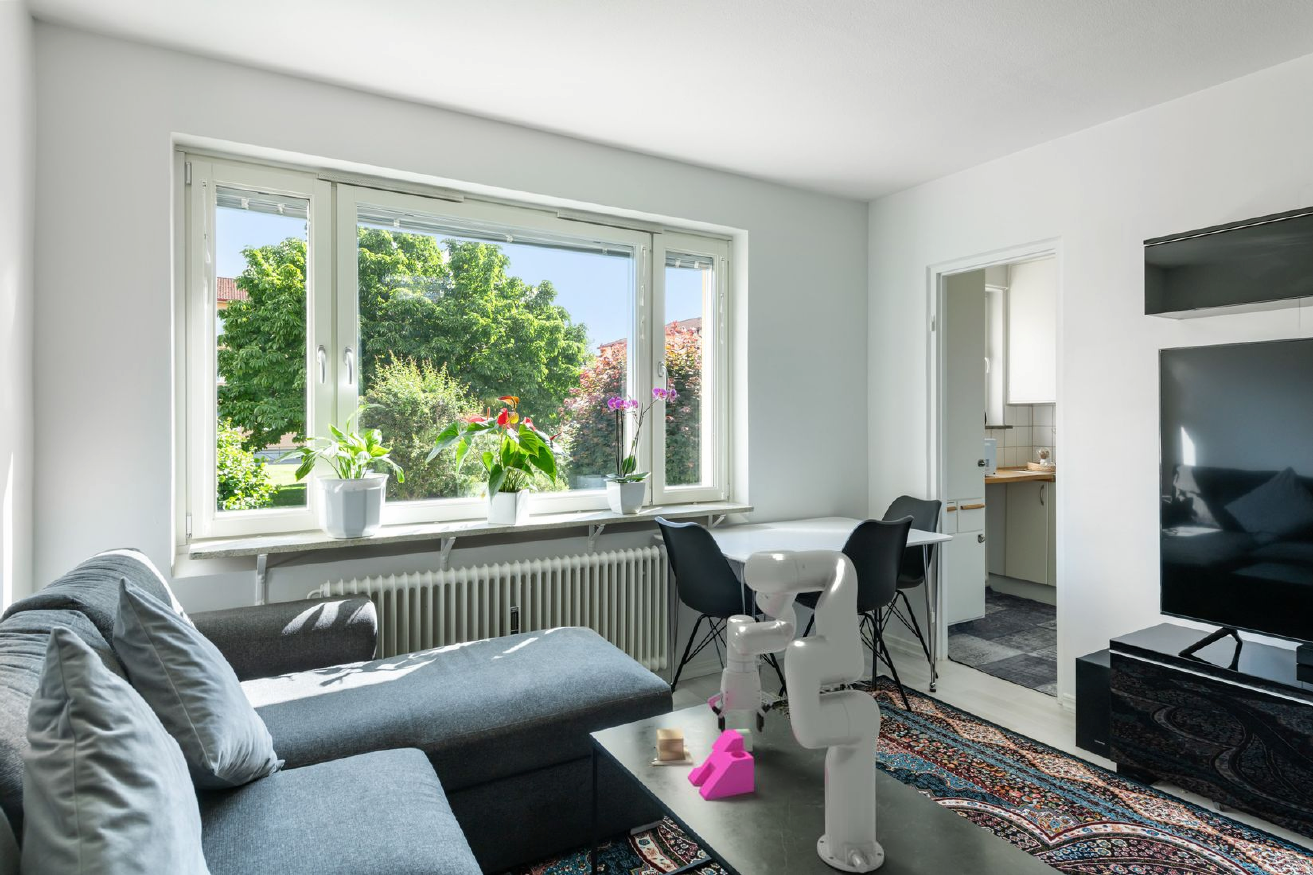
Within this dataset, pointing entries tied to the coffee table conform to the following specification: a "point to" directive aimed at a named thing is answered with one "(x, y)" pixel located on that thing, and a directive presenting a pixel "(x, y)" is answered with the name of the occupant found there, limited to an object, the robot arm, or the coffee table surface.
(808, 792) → the coffee table surface
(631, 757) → the coffee table surface
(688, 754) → the birch board
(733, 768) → the bracket
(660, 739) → the oak block
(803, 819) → the coffee table surface
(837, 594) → the robot arm
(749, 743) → the sage cube
